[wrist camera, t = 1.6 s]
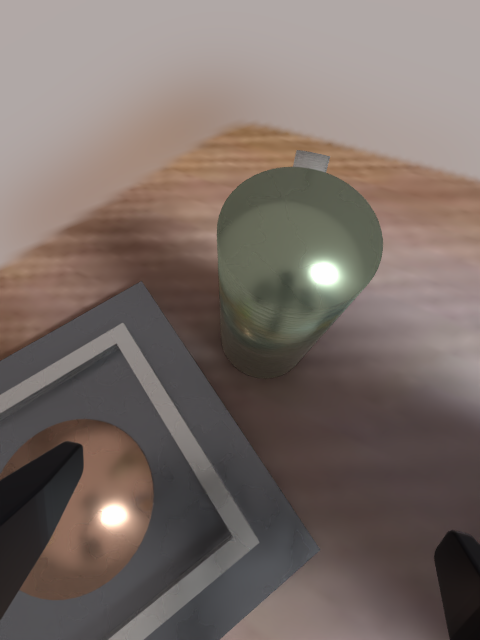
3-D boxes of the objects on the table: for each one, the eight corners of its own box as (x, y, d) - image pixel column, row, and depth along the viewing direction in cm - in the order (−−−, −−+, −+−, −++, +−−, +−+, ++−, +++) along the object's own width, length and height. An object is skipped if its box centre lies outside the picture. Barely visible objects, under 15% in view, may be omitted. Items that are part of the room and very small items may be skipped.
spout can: (299, 386, 23) (377, 326, 11) (212, 367, 23) (198, 288, 11) (314, 284, 26) (391, 149, 14) (236, 268, 26) (245, 120, 14)
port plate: (-28, 848, 15) (-60, 900, 14) (-152, 454, 20) (-186, 455, 19) (316, 545, 20) (325, 555, 18) (143, 285, 25) (138, 274, 23)
